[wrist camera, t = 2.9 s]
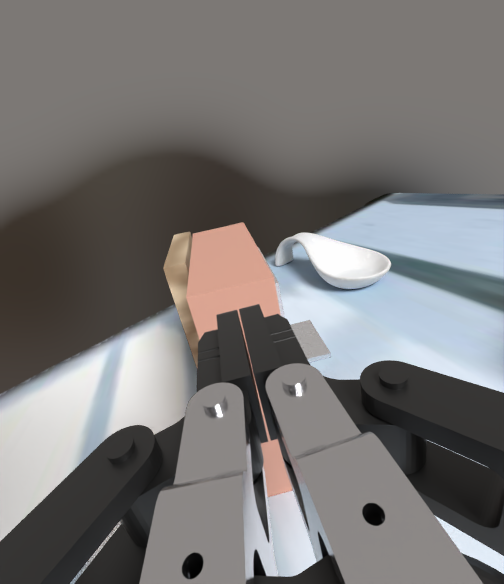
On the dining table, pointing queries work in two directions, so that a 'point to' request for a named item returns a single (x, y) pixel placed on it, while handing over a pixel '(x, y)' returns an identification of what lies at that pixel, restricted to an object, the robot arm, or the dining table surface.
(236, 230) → the book
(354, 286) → the spoon rest
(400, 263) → the dining table surface
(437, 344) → the dining table surface
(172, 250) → the board
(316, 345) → the bookend
